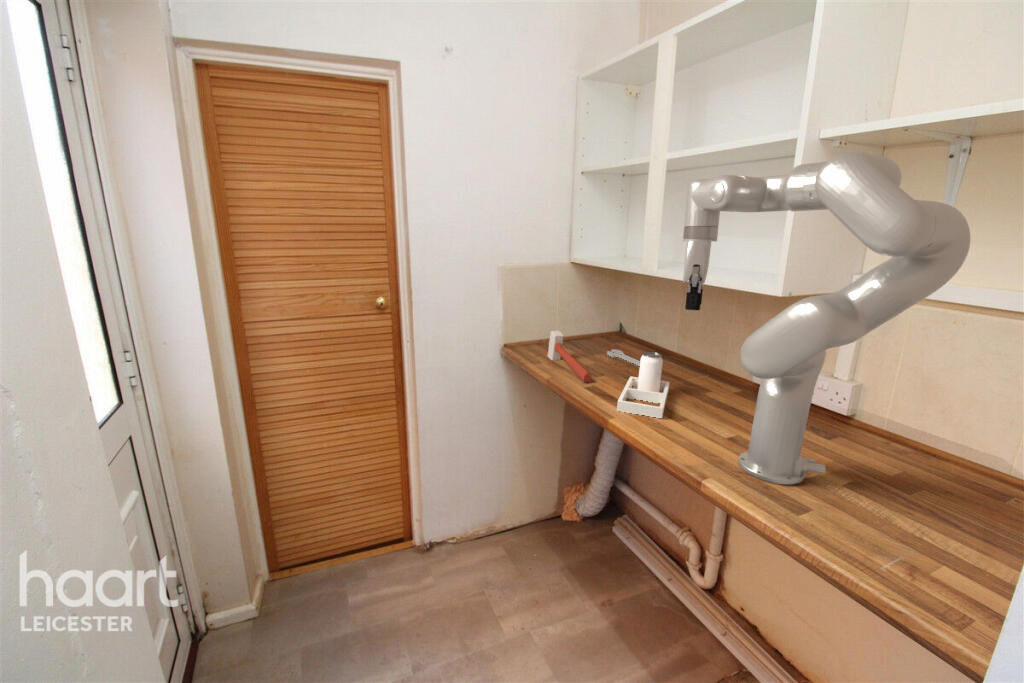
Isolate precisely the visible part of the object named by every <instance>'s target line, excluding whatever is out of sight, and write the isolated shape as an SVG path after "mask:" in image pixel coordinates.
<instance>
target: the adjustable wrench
mask: <svg viewBox="0 0 1024 683" xmlns="http://www.w3.org/2000/svg"><path fill="white" fill-rule="evenodd" d="M613 352H614V353H613ZM606 355H607V356H608V355H609V356H608V357H610V356H611V357H610V358H615V357H619V358H618V359H620V358H622V359H621V360H623V359H624V360H623V361H625V360H627V361H626V362H628V361H629V362H628V363H630V362H631V363H630V364H632V363H634V364H633V365H635V364H636V365H635V366H637V365H638V366H637V367H639V366H640V360H638V359H636V358H634V357H631V356H629V355H626V354H625V353H624V351H622V350H620V349H611V350H610V351H609V350H607V351H606Z"/></svg>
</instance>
